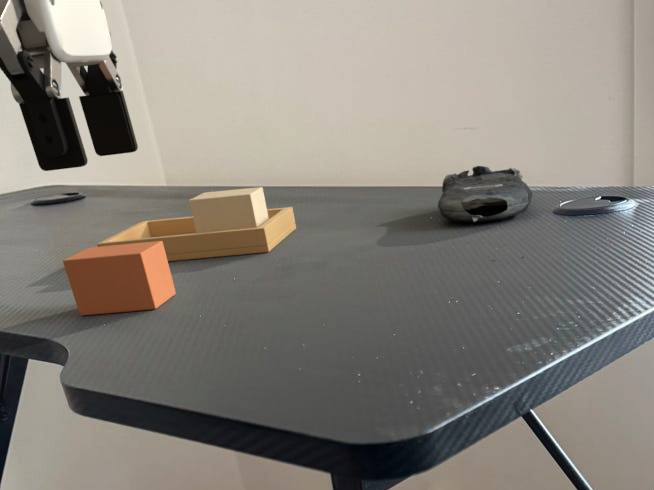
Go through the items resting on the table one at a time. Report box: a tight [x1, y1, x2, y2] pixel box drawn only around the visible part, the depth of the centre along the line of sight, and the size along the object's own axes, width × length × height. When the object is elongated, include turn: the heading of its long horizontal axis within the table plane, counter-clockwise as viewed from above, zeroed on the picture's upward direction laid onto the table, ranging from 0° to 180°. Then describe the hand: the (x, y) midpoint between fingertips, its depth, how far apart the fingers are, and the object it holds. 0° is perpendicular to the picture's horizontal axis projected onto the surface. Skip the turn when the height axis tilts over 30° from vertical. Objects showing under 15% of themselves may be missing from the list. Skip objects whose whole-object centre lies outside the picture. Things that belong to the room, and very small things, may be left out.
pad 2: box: [188, 186, 269, 233], centre depth 91 cm, size 6×5×4 cm
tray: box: [96, 206, 297, 262], centre depth 92 cm, size 16×13×2 cm
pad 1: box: [62, 241, 177, 317], centre depth 71 cm, size 6×5×4 cm
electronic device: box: [437, 165, 533, 224], centre depth 93 cm, size 9×6×15 cm
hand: (93, 160), depth 67 cm, fingers open, 9 cm apart
